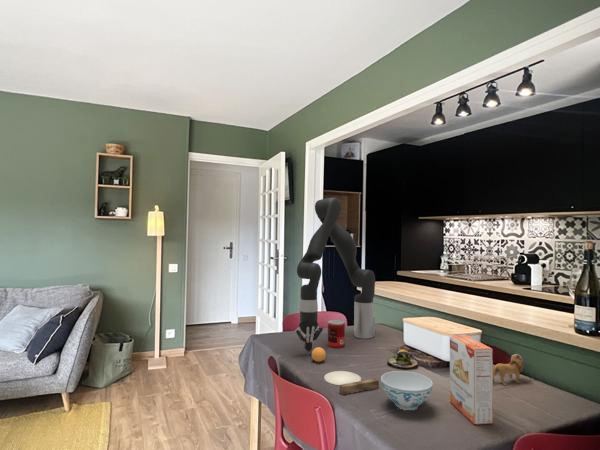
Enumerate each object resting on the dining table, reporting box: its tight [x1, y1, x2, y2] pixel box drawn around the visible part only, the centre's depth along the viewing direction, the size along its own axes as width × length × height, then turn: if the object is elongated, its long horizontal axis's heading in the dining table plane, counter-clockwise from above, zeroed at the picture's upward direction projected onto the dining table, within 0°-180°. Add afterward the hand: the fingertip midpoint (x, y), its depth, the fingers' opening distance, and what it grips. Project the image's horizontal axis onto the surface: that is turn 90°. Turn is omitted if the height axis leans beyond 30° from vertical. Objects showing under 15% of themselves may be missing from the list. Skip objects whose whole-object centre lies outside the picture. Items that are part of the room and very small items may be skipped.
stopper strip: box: [338, 378, 380, 396], centre depth 127 cm, size 14×2×2 cm, turn 114°
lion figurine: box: [493, 353, 525, 386], centre depth 134 cm, size 15×5×9 cm, turn 116°
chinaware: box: [380, 370, 433, 411], centre depth 116 cm, size 15×15×8 cm
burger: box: [386, 348, 419, 369], centre depth 151 cm, size 12×12×8 cm
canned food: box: [327, 319, 346, 349], centre depth 176 cm, size 8×8×11 cm
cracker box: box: [449, 334, 494, 425], centre depth 111 cm, size 14×6×21 cm, turn 5°
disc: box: [324, 370, 362, 386], centre depth 137 cm, size 13×13×1 cm
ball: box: [311, 346, 326, 363], centre depth 154 cm, size 6×6×6 cm
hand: (308, 350), depth 163 cm, fingers closed
